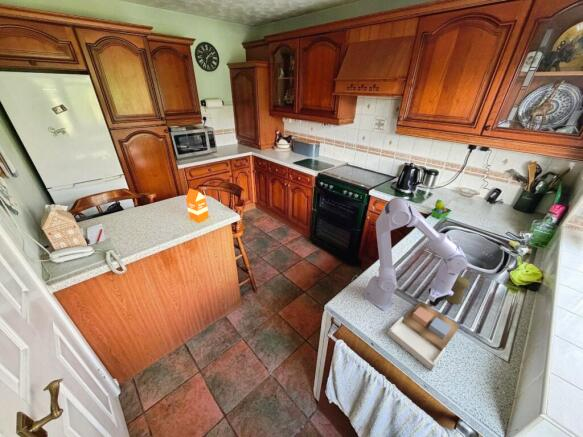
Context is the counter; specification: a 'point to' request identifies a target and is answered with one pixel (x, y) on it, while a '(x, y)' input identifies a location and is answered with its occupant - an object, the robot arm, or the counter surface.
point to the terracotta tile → (422, 316)
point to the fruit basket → (440, 210)
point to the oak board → (423, 330)
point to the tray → (415, 344)
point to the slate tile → (439, 328)
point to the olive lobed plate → (458, 290)
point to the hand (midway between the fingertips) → (433, 304)
